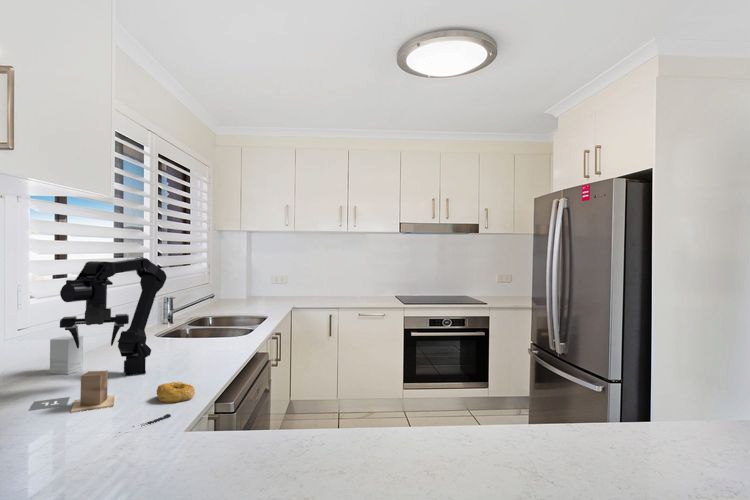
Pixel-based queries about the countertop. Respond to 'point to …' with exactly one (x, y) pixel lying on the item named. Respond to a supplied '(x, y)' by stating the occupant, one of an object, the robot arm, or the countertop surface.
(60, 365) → the supplement box
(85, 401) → the walnut block
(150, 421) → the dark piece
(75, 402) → the coaster
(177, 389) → the bagel
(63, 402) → the gray mat
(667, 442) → the countertop surface
